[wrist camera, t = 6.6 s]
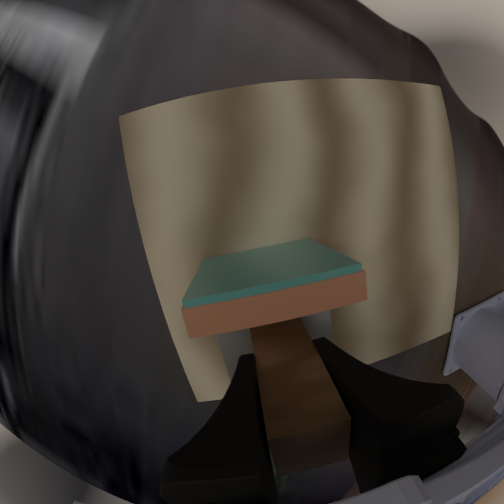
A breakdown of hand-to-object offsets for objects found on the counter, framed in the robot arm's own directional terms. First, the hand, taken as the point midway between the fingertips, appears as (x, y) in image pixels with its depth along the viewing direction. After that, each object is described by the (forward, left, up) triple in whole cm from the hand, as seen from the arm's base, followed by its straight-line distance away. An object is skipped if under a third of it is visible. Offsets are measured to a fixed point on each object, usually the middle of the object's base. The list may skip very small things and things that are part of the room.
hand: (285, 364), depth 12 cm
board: (-5, -3, -8) cm, 10 cm away
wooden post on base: (0, 0, -4) cm, 4 cm away
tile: (0, -3, -7) cm, 8 cm away
